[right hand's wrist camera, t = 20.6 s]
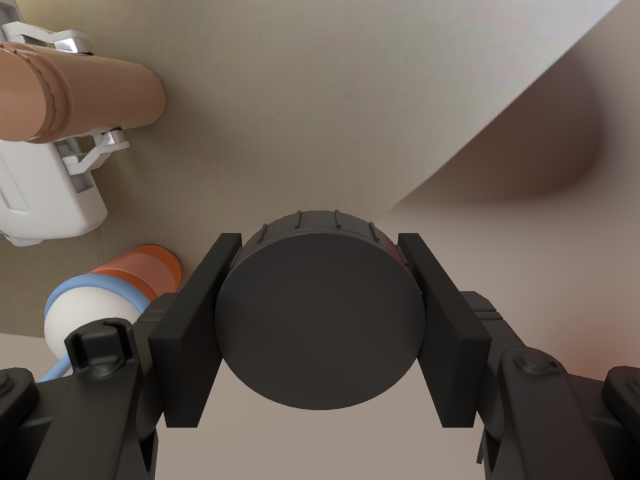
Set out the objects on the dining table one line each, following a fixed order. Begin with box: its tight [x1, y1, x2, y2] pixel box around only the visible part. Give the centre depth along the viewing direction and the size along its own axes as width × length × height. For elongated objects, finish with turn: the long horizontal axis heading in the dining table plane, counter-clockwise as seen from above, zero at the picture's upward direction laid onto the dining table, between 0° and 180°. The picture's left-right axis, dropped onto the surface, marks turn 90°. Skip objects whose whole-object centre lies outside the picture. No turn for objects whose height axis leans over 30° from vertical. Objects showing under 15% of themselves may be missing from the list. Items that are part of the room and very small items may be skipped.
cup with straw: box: [38, 245, 182, 383], centre depth 31 cm, size 9×9×18 cm
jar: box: [0, 42, 166, 144], centre depth 26 cm, size 5×5×15 cm
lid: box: [214, 210, 426, 410], centre depth 11 cm, size 6×6×2 cm
